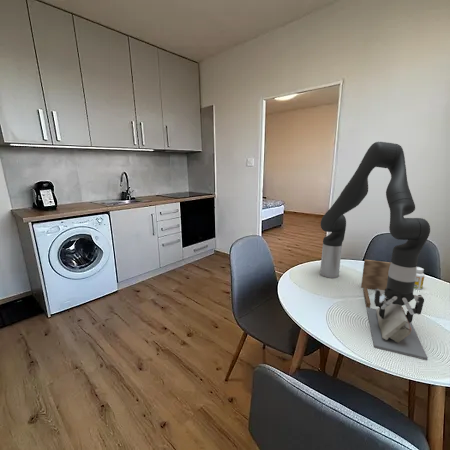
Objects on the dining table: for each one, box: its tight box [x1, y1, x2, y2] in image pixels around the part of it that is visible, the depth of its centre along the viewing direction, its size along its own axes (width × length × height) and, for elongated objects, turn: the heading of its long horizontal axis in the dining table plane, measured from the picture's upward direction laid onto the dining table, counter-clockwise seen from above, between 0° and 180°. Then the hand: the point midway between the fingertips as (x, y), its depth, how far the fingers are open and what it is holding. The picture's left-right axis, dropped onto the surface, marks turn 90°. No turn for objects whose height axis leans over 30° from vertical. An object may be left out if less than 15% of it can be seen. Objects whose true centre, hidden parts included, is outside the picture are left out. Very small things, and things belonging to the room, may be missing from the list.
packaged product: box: [376, 303, 411, 343], centre depth 88 cm, size 18×5×10 cm
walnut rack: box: [360, 259, 391, 309], centre depth 109 cm, size 11×20×14 cm, turn 156°
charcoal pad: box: [366, 307, 428, 361], centre depth 89 cm, size 14×24×1 cm, turn 156°
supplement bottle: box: [414, 266, 426, 291], centre depth 119 cm, size 5×5×10 cm
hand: (394, 319), depth 88 cm, fingers open, 7 cm apart
